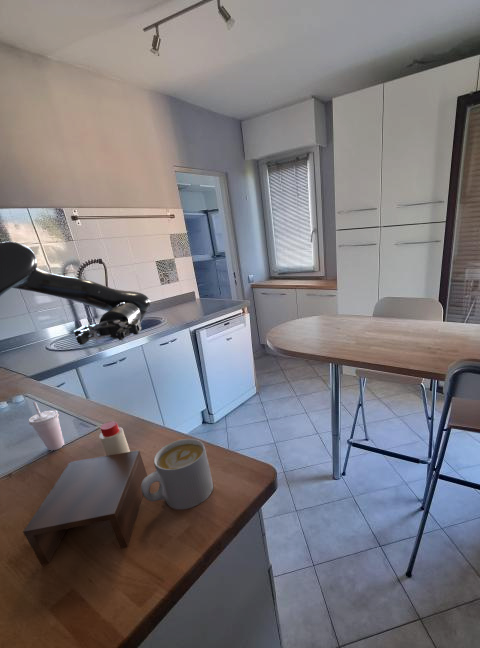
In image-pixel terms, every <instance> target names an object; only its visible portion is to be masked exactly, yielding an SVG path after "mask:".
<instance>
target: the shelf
mask: <svg viewBox="0 0 480 648" xmlns="http://www.w3.org/2000/svg"><path fill="white" fill-rule="evenodd" d="M147 476H148V473H147V470H146V467H145V464H144V461H143V458H142V455H141V452H140V450H133V451H130V452H126V453H120V454H114V455H108V456H106V455H104V456H97V457H92V458H86V459H80V460H74V461H69V462H68V464H67V465H66V467H65V468H64V470H63V472H62V473H61V475H60V476H59V477H58V479H57V480H56V482H55V483H54V485H53V487H52V488H51V489H50V491H49V492H48V494H47V496H46V497H45V499H44V500H43V501H42V503H41V504H40V506H39V507H38V509H37V510H36V512H35V513H34V515H33V516H32V518H31V519H30V520H29V522H28V524H27V525H26V527H25V528H24V530H23V531H22V532H23V534H24V537H25V539H26V540H27V542H28V544H29V546H30V548H31V549H32V551H33V554H34V555H35V556H36V558H37V560H38V561H39V564H40V565H41V566H44V565H48V564H50V562H51V561H52V559H53V557H54V554H55V553H56V551H57V550H58V547H59V545H60V543H61V541H62V540H63V538H64V536H65V534H66V532H67V530H68V529H73V528H78V527H82V526H87V525H93V524H97V523H102V522H107V521H108V522H109V524H110V526H111V529H112V532H113V534H114V536H115V539H116V541H117V543H118V546H119V549H123V548H124V549H125V548H128V545H129V542H130V539H131V536H132V533H133V531H134V527H135V523H136V520H137V518H138V517H137V516H138V513H139V510H140V507H141V503H142V500H143V498H144V495H143V494H142V490H141V484H142V481H143V480H144V478H146V477H147Z"/></svg>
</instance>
